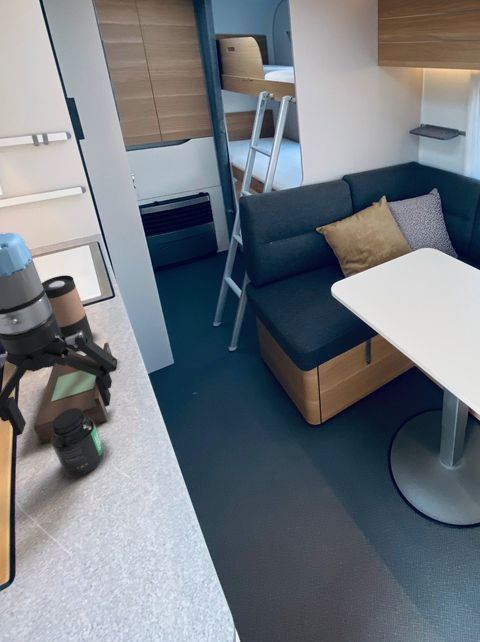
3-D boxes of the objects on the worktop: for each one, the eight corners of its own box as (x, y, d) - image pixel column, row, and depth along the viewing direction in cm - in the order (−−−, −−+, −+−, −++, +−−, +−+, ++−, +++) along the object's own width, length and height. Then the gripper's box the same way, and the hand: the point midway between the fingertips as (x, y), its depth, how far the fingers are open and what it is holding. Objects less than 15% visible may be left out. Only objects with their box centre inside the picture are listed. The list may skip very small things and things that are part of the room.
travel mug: (55, 349, 113) (30, 287, 105) (82, 332, 120) (60, 272, 112) (74, 355, 110) (49, 293, 103) (100, 338, 117) (79, 277, 109)
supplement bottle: (113, 450, 84) (96, 407, 80) (83, 482, 78) (63, 437, 74) (87, 442, 86) (69, 400, 81) (56, 473, 80) (35, 429, 75)
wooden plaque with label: (41, 443, 86) (29, 419, 83) (60, 379, 103) (51, 357, 100) (107, 421, 91) (98, 397, 88) (115, 363, 107) (107, 342, 105)
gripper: (-85, 361, 61) (-27, 460, 69) (109, 312, 71) (139, 403, 79) (-62, 332, 67) (-12, 426, 75) (113, 291, 77) (141, 377, 85)
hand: (66, 414), depth 77 cm, fingers open, 13 cm apart
